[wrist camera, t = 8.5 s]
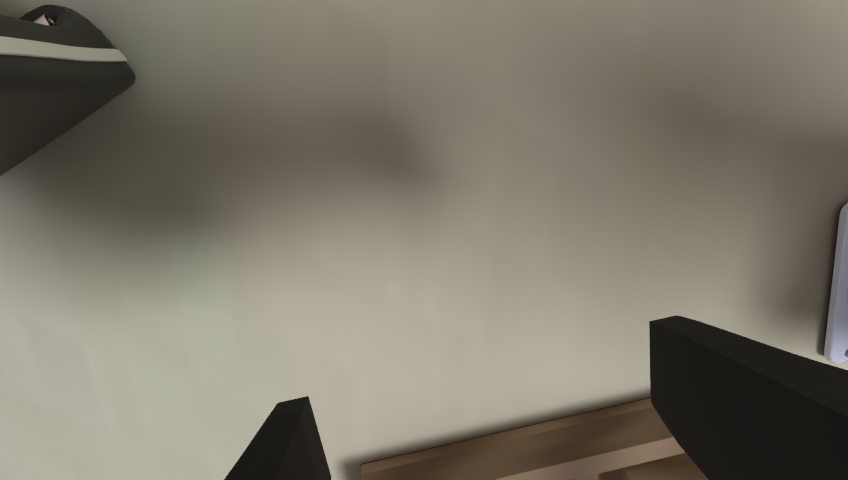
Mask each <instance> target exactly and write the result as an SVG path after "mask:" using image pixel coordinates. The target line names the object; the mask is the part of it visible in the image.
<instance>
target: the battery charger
mask: <svg viewBox="0 0 848 480" xmlns="http://www.w3.org/2000/svg"><path fill="white" fill-rule="evenodd" d="M127 62H128V60H127V59H126V58H125V56H124V55H123V54H122V52H121V51H120V50H119V49H115V48H114V47H113V46H112V44H111V43H110V42H109V41H108V39H107V38H106V37H105V36H104V34H103V33H102V32H101V31H100V30H98V29H97V28H96V27H95V26H94V25H93V24H92V23H91V22H89V21H88V20H87V19H86V18H84V17H83V16H81V15H80V14H78V13H76V12H75V11H73V10H71V9H68V8H66V7H61V6H55V5H45V6H41V7H38V8H36V9H34V10H32V11H31V12H29V13H27V14H25V15H24V16H22V17H21V18H19V19H17V18H12V17H6V16H2V15H0V176H1V175H2V174H4V173H5V172H7V171H8V170H10V169H11V168H13V167H14V166H16V165H17V164H19V163H20V162H22V161H23V160H25V159H26V158H28V157H29V156H30V155H32V154H33V153H35V152H36V151H38V150H39V149H41V148H42V147H44V146H45V145H47V144H48V143H50V142H51V141H53V140H54V139H55V138H57V137H58V136H60V135H61V134H63V133H64V132H66V131H67V130H69V129H70V128H71V127H73V126H74V125H76V124H77V123H79V122H80V121H82V120H83V119H85V118H86V117H87V116H89V115H90V114H92V113H93V112H95V111H96V110H98V109H99V108H101V107H102V106H103V105H105V104H106V103H108V102H109V101H111V100H112V99H113V98H115V97H116V96H118V95H119V94H121V93H122V92H124V91H125V90H126V89H128V88H129V87H130V86H132V85H133V84H134V82H135V74H134V73H133V71H132V70H131V68H130V67H129V66H128V64H127Z"/></svg>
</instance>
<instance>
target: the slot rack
mask: <svg viewBox="0 0 848 480" xmlns="http://www.w3.org/2000/svg"><path fill="white" fill-rule="evenodd" d="M683 453H686V452H685V451H684V450H683V449H682V448H681V446H680V445H679V444H678V443H677V441H676V440H675V438H674V437H673V435H672V434H671V432H670V431H669V430H668V428H667V427H666V425H665V424H664V422H663V421H662V419H661V417H660V416H659V414H658V413H657V411H656V410H655V408H654V406H653V405H652V403H651V398H648V399H643V400H639V401H635V402H630V403H626V404H622V405H617V406H613V407H609V408H605V409H600V410H596V411H592V412H587V413H583V414H579V415H574V416H570V417H566V418H561V419H557V420H553V421H548V422H544V423H540V424H535V425H531V426H527V427H522V428H518V429H514V430H509V431H505V432H501V433H496V434H492V435H488V436H483V437H479V438H475V439H470V440H466V441H462V442H457V443H453V444H449V445H444V446H440V447H436V448H431V449H427V450H423V451H418V452H414V453H410V454H405V455H401V456H397V457H392V458H388V459H384V460H379V461H375V462H371V463H366V464H362V465H361V480H622V471H621V468H624V467H628V466H633V465H637V464H641V463H645V462H649V461H653V460H658V459H662V458H666V457H670V456H674V455H678V454H683Z"/></svg>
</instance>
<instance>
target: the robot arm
mask: <svg viewBox="0 0 848 480" xmlns="http://www.w3.org/2000/svg"><path fill="white" fill-rule="evenodd" d="M824 356H825V358H826V359H828V360H829V361H831V362H833V363H840V362H844V361H848V203H847V204H845V205H844V206H843V208H842V209H841V212H840V217H839V226H838V235H837V244H836V252H835V261H834V270H833V279H832V288H831V296H830V305H829V314H828V323H827V331H826V340H825V349H824ZM650 381H651V403H652V405H653V406H654V408H655V410H656V411H657V413H658V414H659V416H660V417H661V419H662V421H663V422H664V424H665V425H666V427H667V428H668V430H669V431H670V432H671V434H672V435H673V437H674V438H675V440H676V441H677V443H678V444H679V445H680V446H681V448H682V449H683V450H684V451H685V452H686V454H687V455H688V456H689V457H690V458H691V460H692V461H693V462H694V463H695V464H696V465H697V467H698V468H699V469H700V470H701V471H702V472H703V474H704V475H705V476H706V477H707V478H708V479H709V480H848V370H844V369H841V368H838V367H834V366H831V365H828V364H824V363H821V362H818V361H814V360H811V359H808V358H805V357H802V356H799V355H796V354H793V353H790V352H787V351H784V350H781V349H778V348H775V347H772V346H769V345H766V344H763V343H760V342H757V341H754V340H751V339H749V338H746V337H743V336H740V335H737V334H734V333H731V332H728V331H726V330H723V329H720V328H717V327H714V326H711V325H708V324H705V323H702V322H699V321H695V320H692V319H689V318H685V317H681V316H672V317H668V318H663V319H659V320H654V321H650ZM224 480H331V475H330V471H329V468H328V464H327V461H326V457H325V454H324V450H323V446H322V443H321V439H320V436H319V432H318V429H317V425H316V422H315V418H314V415H313V411H312V408H311V404H310V401H309V397H308V396H307V397H303V398H298V399H294V400H289V401H285V402H280V403H278V404H277V405H276V406H275V408H274V409H273V411H272V412H271V413H270V415H269V416H268V418H267V419H266V421H265V422H264V423H263V425H262V426H261V428H260V429H259V431H258V432H257V434H256V435H255V437H254V438H253V440H252V441H251V443H250V444H249V445H248V447H247V448H246V450H245V451H244V453H243V454H242V456H241V457H240V458H239V460H238V461H237V463H236V464H235V465H234V467H233V468H232V470H231V471H230V472H229V474H228V475H227V476H226V478H225V479H224Z"/></svg>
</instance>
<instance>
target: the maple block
mask: <svg viewBox="0 0 848 480" xmlns="http://www.w3.org/2000/svg"><path fill="white" fill-rule="evenodd" d="M621 471H622V480H709V479H708V478H707V477H706V476H705V475H704V474H703V472H702V471H701V470H700V469H699V468H698V467H697V465H696V464H695V463H694V462H693V461H692V460H691V458H690V457H689V456H688V455H687V454H686V453H683V454H678V455H674V456H670V457H666V458H662V459H658V460H653V461H649V462H645V463H641V464H637V465H633V466H628V467H624V468H621Z"/></svg>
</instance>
